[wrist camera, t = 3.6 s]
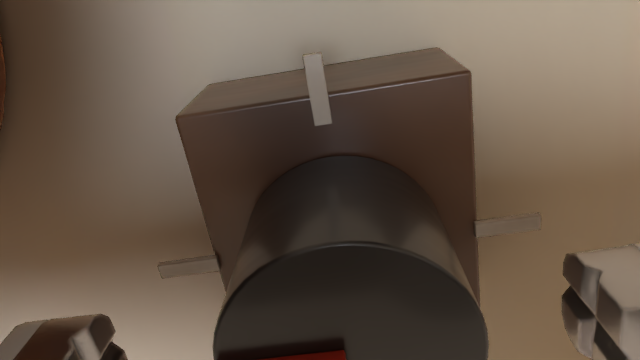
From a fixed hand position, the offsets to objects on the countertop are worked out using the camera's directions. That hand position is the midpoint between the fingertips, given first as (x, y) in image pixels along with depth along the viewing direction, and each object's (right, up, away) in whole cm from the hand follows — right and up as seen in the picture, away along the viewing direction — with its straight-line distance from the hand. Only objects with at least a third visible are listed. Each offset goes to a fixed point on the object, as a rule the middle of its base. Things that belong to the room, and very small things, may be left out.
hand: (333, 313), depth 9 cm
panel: (0, +2, +5) cm, 5 cm away
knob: (0, +1, +2) cm, 2 cm away
